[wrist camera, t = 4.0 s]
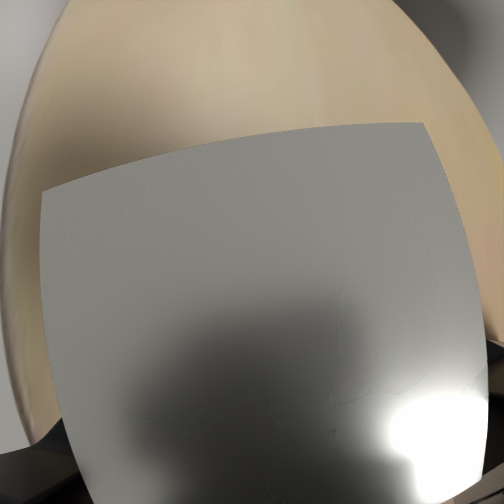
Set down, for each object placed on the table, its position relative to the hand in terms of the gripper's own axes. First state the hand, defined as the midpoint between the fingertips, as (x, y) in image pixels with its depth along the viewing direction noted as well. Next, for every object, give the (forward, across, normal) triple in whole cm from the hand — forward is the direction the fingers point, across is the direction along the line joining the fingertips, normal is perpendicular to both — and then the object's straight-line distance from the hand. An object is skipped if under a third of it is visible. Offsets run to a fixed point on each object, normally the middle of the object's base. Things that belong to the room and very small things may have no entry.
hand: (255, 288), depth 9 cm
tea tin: (+4, 0, +6) cm, 7 cm away
